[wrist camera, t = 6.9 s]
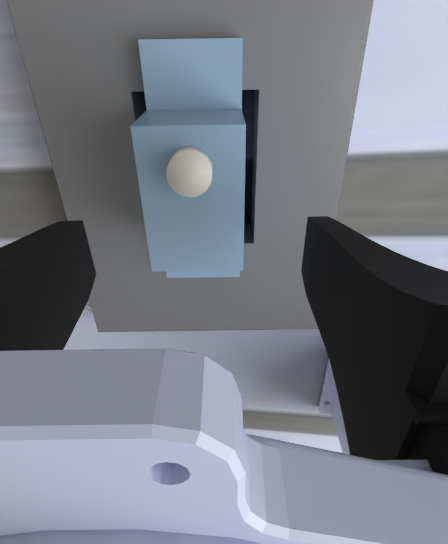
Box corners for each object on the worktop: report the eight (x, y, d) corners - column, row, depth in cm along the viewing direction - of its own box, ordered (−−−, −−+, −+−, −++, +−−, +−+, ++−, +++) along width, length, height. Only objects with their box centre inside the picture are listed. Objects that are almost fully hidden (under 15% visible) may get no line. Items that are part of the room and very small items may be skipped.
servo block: (237, 247, 22) (243, 325, 16) (173, 248, 23) (155, 327, 16) (239, 37, 16) (249, 38, 10) (152, 39, 16) (110, 40, 10)
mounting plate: (309, 304, 25) (317, 328, 23) (108, 307, 25) (98, 331, 23) (368, -99, 14) (393, -122, 12) (11, -92, 14) (-25, -114, 12)
